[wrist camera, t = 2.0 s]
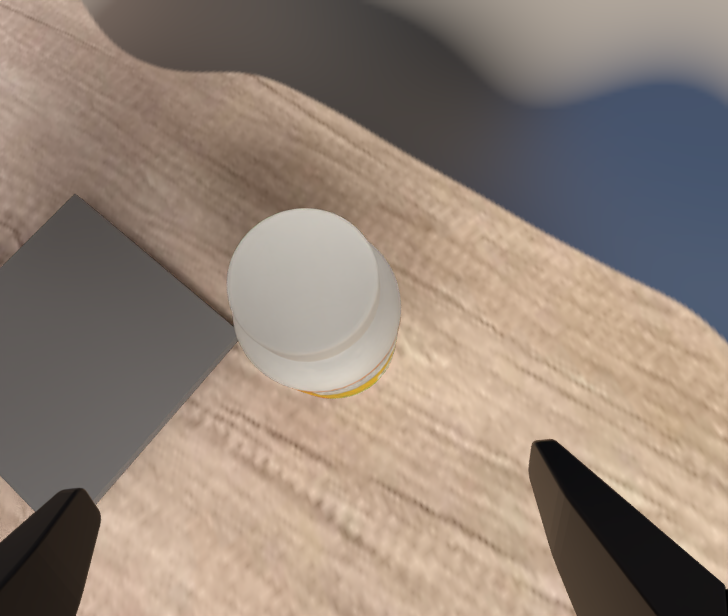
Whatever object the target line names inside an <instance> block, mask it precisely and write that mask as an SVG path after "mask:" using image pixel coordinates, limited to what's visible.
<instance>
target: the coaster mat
mask: <svg viewBox="0 0 728 616" xmlns="http://www.w3.org/2000/svg"><path fill="white" fill-rule="evenodd" d="M237 341H238V338H237V335H236V332H235V328H234V326H233V325H231V324H230V323H229V322H228V321H227V320H225V319H224V318H223V317H222V316H221V315H219V314H218V313H217V312H216V311H215V310H213V309H212V308H211V307H210V306H209V305H208V304H206V303H205V302H204V301H203V300H202V299H200V298H199V297H198V296H197V295H196V294H194V293H193V292H192V291H191V290H190V289H189V288H187V287H186V286H185V285H184V284H183V283H181V282H180V281H179V280H178V279H177V278H175V277H174V276H173V275H172V274H171V273H169V272H168V271H167V270H166V269H165V268H164V267H162V266H161V265H160V264H159V263H158V262H156V261H155V260H154V259H153V258H152V257H150V256H149V255H148V254H147V253H146V252H144V251H143V250H142V249H141V248H140V247H139V246H137V245H136V244H135V243H134V242H133V241H131V240H130V239H129V238H128V237H127V236H125V235H124V234H123V233H122V232H121V231H120V230H118V229H117V228H116V227H115V226H114V225H112V224H111V223H110V222H109V221H108V220H106V219H105V218H104V217H103V216H102V215H100V214H99V213H98V212H97V211H96V210H95V209H93V208H92V207H91V206H90V205H89V204H87V203H86V202H85V201H84V200H83V199H81V198H80V197H79V196H77V195H76V194H74V195H73V196H72V197H71V198H70V199H69V200H68V201H67V202H66V203H65V204H64V205H63V206H62V207H61V208H60V209H59V210H58V211H57V212H56V213H55V214H54V215H53V216H52V217H51V218H50V219H49V220H48V221H47V222H46V223H45V224H44V225H43V226H42V227H41V228H40V229H39V230H38V231H37V232H36V233H35V234H34V235H33V236H32V237H31V238H30V239H29V240H28V241H27V242H26V243H25V244H24V245H23V246H22V247H21V248H20V249H19V250H18V251H17V252H16V253H15V254H14V255H13V256H12V257H11V258H10V259H9V260H8V261H7V262H6V263H5V264H4V265H3V266H2V267H1V268H0V476H1V477H2V478H3V479H4V480H5V481H6V482H7V483H8V484H9V485H10V486H11V487H12V488H13V489H14V490H15V491H16V492H17V493H18V494H19V496H20V497H21V498H22V499H23V500H24V501H25V502H26V503H27V504H28V505H29V506H30V507H31V508H32V509H33V510H34V511H35V512H36V511H37V510H38V509H39V508H40V507H41V506H43V505H44V504H45V503H46V502H47V501H48V500H49V499H51V498H52V497H53V496H54V495H55V494H56V493H58V492H59V491H61V490H64V489H71V488H83V489H85V490H86V491H87V492H88V494H89V495H90V497H91V499H92V500H93V502H94V503H95V505H96V504H97V503H98V501H99V500H100V499H101V498H102V497H103V496H104V495H105V493H106V492H107V491H108V490H109V489H110V488H111V486H112V485H113V484H114V483H115V482H116V481H117V480H118V478H119V477H120V476H121V475H122V474H123V473H124V471H125V470H126V469H127V468H128V467H129V466H130V465H131V463H132V462H133V461H134V460H135V459H136V458H137V457H138V455H139V454H140V453H141V452H142V451H143V450H144V448H145V447H146V446H147V445H148V444H149V443H150V442H151V440H152V439H153V438H154V437H155V436H156V435H157V433H158V432H159V431H160V430H161V429H162V428H163V427H164V425H165V424H166V423H167V422H168V421H169V420H170V419H171V417H172V416H173V415H174V414H175V413H176V412H177V410H178V409H179V408H180V407H181V406H182V405H183V404H184V402H185V401H186V400H187V399H188V398H189V397H190V396H191V394H192V393H193V392H194V391H195V390H196V389H197V387H198V386H199V385H200V384H201V383H202V382H203V381H204V379H205V378H206V377H207V376H208V375H209V374H210V372H211V371H212V370H213V369H214V368H215V367H216V366H217V364H218V363H219V362H220V361H221V360H222V359H223V358H224V356H225V355H226V354H227V353H228V352H229V351H230V349H231V348H232V347H233V346H234V345H235V344H236V343H237Z"/></svg>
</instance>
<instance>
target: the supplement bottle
mask: <svg viewBox="0 0 728 616" xmlns="http://www.w3.org/2000/svg"><path fill="white" fill-rule="evenodd" d="M227 295H228V300H229V305H230V308H231V310H232V313H233V323H234V328H235V332H236V335H237V338H238V341H239V343H240V345H241V347H242V349H243V351H244V353H245V354H246V356H247V357H248V359H249V360H250V361H251V362H252V363H253V364H254V365H255V367H256V368H257V369H259V370H260V371H261V372H262V373H263V374H265V375H266V376H267V377H269V378H271V379H272V380H274V381H276V382H277V383H279V384H282V385H284V386H287V387H290V388H292V389H296V390H298V391H301V392H304V393H308V394H311V395H314V396H317V397H322V398H330V399H336V398H345V397H350V396H353V395H356V394H359V393H361V392H363V391H365V390H366V389H368V388H370V387H371V386H372V385H373V384H375V383H376V382H377V381H378V380H379V379H380V377H381V376H382V375H383V374H384V372H385V371H386V369H387V368H388V366H389V364H390V362H391V360H392V357H393V354H394V350H395V346H396V340H397V334H398V329H399V325H400V318H401V299H400V292H399V287H398V284H397V280H396V278H395V275H394V273H393V271H392V269H391V267H390V265H389V263H388V262H387V260H386V259H385V258H384V256H383V255H382V254H381V253H380V252H379V250H378V249H377V248H375V247H374V246H373V245H372V244H371V243H370V242H368V241H367V239H366V238H365V237H364V235H363V234H362V233H361V232H360V231H359V230H358V229H357V228H356V227H355V226H354V225H352V224H351V223H350V222H348V221H347V220H345V219H344V218H342V217H340V216H338V215H336V214H334V213H331V212H328V211H324V210H320V209H312V208H298V209H291V210H287V211H283V212H279V213H277V214H275V215H272V216H270V217H268V218H266V219H264V220H263V221H261V222H260V223H258V224H257V225H256V226H255V227H253V228H252V229H251V230H250V231H249V232H248V233H247V234H246V235H245V237H244V238H243V239H242V240H241V242H240V243H239V245H238V246H237V248H236V250H235V252H234V254H233V256H232V258H231V261H230V264H229V269H228V273H227Z"/></svg>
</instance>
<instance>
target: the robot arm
mask: <svg viewBox="0 0 728 616" xmlns="http://www.w3.org/2000/svg"><path fill="white" fill-rule="evenodd" d="M529 478H530V482H531V485H532V488H533V492H534V495H535V499H536V502H537V505H538V509H539V512H540V516H541V519H542V523H543V526H544V529H545V533H546V536H547V540H548V543H549V546H550V549H551V553H552V556H553V558H554V561H555V564H556V566H557V569H558V571H559V574H560V576H561V578H562V581H563V583H564V586H565V588H566V591H567V593H568V595H569V598H570V600H571V603H572V605H573V608H574V610H575V612H576V615H577V616H728V589H726V587H725V585H724V584H723V583H722V582H721V581H720V580H719V579H717V578H716V577H715V576H714V575H713V574H712V573H710V572H709V571H708V570H707V569H706V568H705V567H703V566H702V565H701V564H700V563H699V562H698V561H696V560H695V559H694V558H693V557H692V556H690V555H689V554H688V553H687V552H686V551H685V550H683V549H682V548H681V547H680V546H679V545H678V544H676V543H675V542H674V541H673V540H672V539H671V538H669V537H668V536H667V535H666V534H665V533H664V532H662V531H661V530H660V529H659V528H658V527H657V526H655V525H654V524H653V523H652V522H651V521H650V520H648V519H647V518H646V517H645V516H644V515H643V514H641V513H640V512H639V511H638V510H637V509H636V508H634V507H633V506H632V505H631V504H630V503H628V502H627V501H626V500H625V499H624V498H623V497H621V496H620V495H619V494H618V493H617V492H616V491H614V490H613V489H612V488H611V487H610V486H609V485H607V484H606V483H605V482H604V481H603V480H602V479H600V478H599V477H598V476H597V475H596V474H595V473H593V472H592V471H591V470H590V469H589V468H588V467H586V466H585V465H584V464H583V463H582V462H581V461H579V460H578V459H577V458H576V457H575V456H573V455H572V454H571V453H570V452H569V451H568V450H566V449H565V448H564V447H563V446H562V445H561V444H559V443H558V442H557V441H555V440H553V439H545V440H536V441H534V442H533V443H532V446H531V453H530V460H529ZM100 523H101V515H100V511H99V509H98V508H97V506H96V505H95V503H94V502H93V500H92V499H91V497H90V495H89V494H88V492H87V491H86V490H85V489H83V488H71V489H64V490H61V491H59V492H58V493H56V494H55V495H54V496H53V497H52V498H51V499H49V500H48V501H47V502H46V503H45V504H44V505H43V506H41V507H40V508H39V509H38V510H37V511H36V512H35V513H33V514H32V515H31V516H30V517H29V518H28V519H27V520H25V521H24V522H23V523H22V524H21V525H20V526H19V527H17V528H16V529H15V530H14V531H13V532H12V533H11V534H9V535H8V536H7V537H6V538H5V539H4V540H3V541H1V542H0V616H76V613H77V610H78V607H79V604H80V601H81V598H82V594H83V591H84V587H85V583H86V579H87V575H88V571H89V567H90V563H91V559H92V555H93V551H94V547H95V543H96V539H97V536H98V532H99V528H100Z"/></svg>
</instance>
